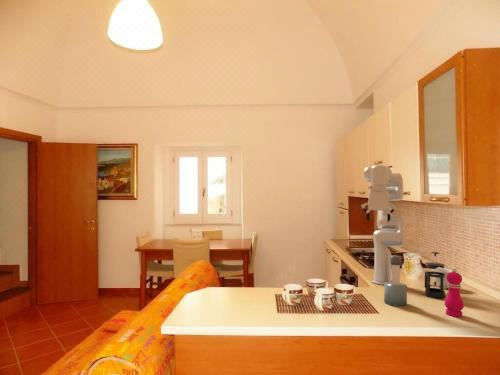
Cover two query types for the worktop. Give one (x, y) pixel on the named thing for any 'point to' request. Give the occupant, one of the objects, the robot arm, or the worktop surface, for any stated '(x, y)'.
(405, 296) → the syrup pump bottle
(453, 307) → the pepper mill
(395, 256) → the pump head
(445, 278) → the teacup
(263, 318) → the worktop surface
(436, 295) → the french press
